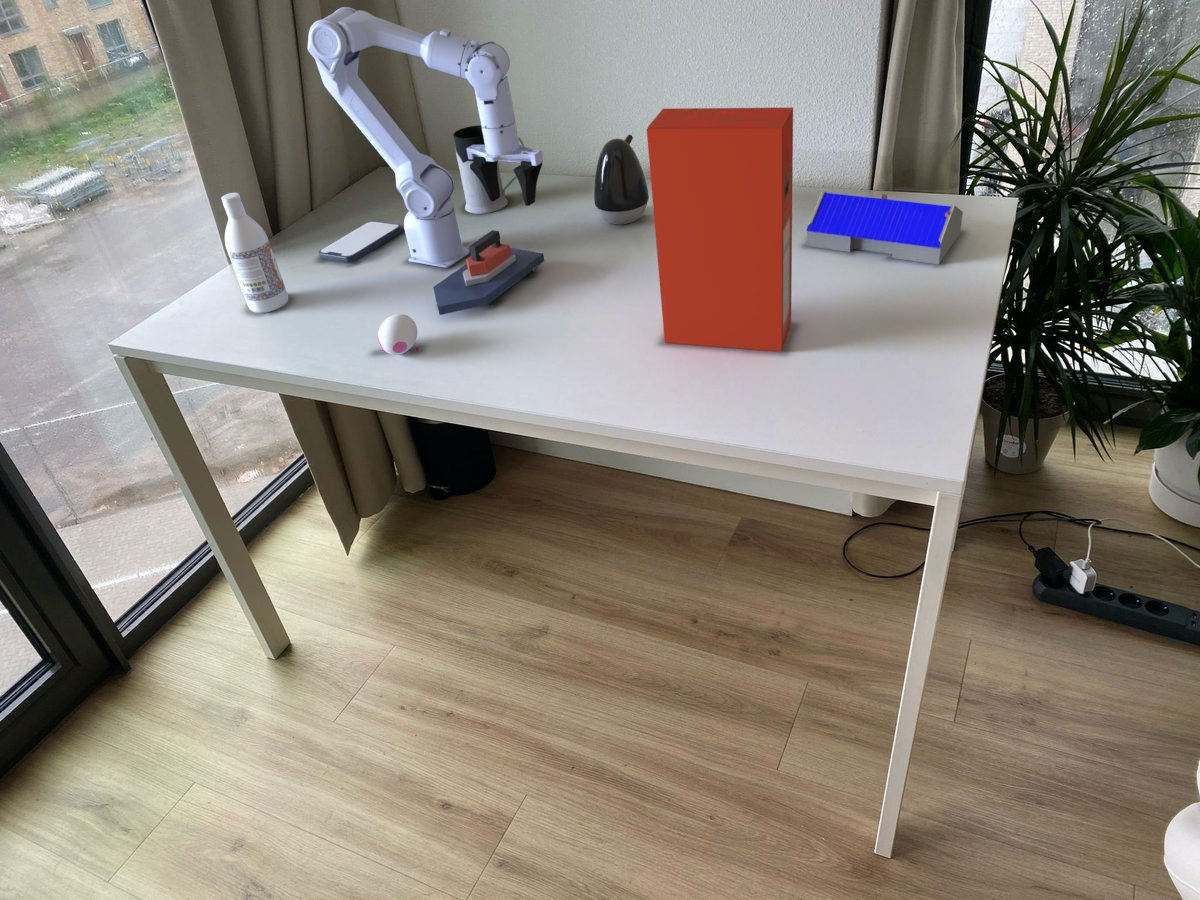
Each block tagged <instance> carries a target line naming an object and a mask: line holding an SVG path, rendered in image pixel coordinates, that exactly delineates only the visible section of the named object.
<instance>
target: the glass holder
mask: <svg viewBox="0 0 1200 900" xmlns="http://www.w3.org/2000/svg"><path fill="white" fill-rule="evenodd" d="M452 135H453V140H454V148H455V155H456V160H457V164H458V169H459V174H460V179H461V183H462V188H463V193H464V199H465V206H464V210H465V211H466V212H468V213H470V214H476V215H478V214H479V215H482V214H483V215H484V214H489V213H493V212H496V211H499V210H502V209H504V208H505V206H507V205H508V199H507V197H506V190H507V189H508V188H509V187H510V186H511V185H512V183H513V182H514V181H515V180H516V179H517V176H516V175H515V176H514V177H513V178H512V179H511V180H510V181H509V182H508V183H507V184H506V185H505V187H503V182H502V176H501V171H500V166H499V165H500V163H499V162H498V163H497V174H498V183H499V189H500V198H498V199H497V200H495V201H493V202H492V201H490V199H489V197H488V195H487V192H486V190H485V188H484V187H483V185H482V183H481V181H480V180H479V178H478V177H477V176H476V174H475V173H474V172H473V171H472V170H471V169H470V164H472V163H473V161H474V159H468V154H467V149H466V148H468V147H470V146H471V145H485V142H484V137H483V132H482V127H481V124H479V125H470V126H466V127H462V128H459V129H458V130H456V131H454V132H453V134H452ZM518 139H519V144H520V145H522V146H525V144H524V141H523V140H522V139H521V138H520V137H519V136H518Z"/></svg>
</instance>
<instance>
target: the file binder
mask: <svg viewBox="0 0 1200 900" xmlns="http://www.w3.org/2000/svg"><path fill="white" fill-rule="evenodd" d="M646 139H647V151H648V162H649V163H648V165H649V173H650V175H649V176H650V185H651V186H650V187H651V197H652V198H651V199H652V209H653V219H654V220H653V221H654V222H653V223H654V232H655V233H654V234H655V244H656V255H657V256H656V257H657V267H658V268H657V269H658V278H659V279H658V280H659V291H660V293H659V294H660V304H661V314H662V326H663V338H664V343H665V344H673V345H685V346H697V347H698V346H699V347H711V348H724V349H725V348H726V349H737V350H751V351H763V352H776V353H777V352H778V353H782V352H783V350H784V348H785V344H786V342H787V339H788V335H789V333H790V329H791V325H792V281H793V280H792V279H793V278H792V277H793V275H792V274H793V273H792V272H793V270H792V269H793V268H792V266H793V265H792V264H793V261H792V260H793V174H794V173H793V172H794V171H793V170H794V169H793V168H794V167H793V164H794V163H793V162H794V161H793V160H794V157H793V155H794V107H792V106H791V107H699V108H698V107H697V108H696V107H695V108H694V107H693V108H688V107H687V108H686V107H685V108H681V107H680V108H662V109H661V110H660V112H659V113H658V114H657V115H656V117H655V118H654V119H653V120H652V121H651V122H650V123H649V125H648V126H647V128H646Z"/></svg>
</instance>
